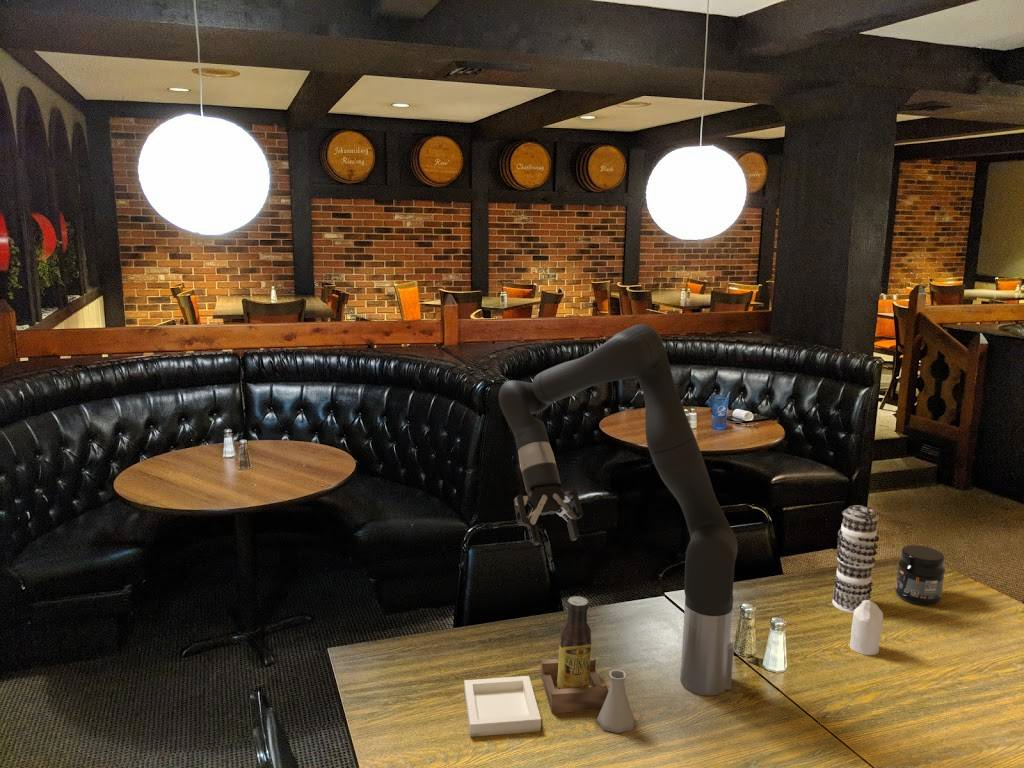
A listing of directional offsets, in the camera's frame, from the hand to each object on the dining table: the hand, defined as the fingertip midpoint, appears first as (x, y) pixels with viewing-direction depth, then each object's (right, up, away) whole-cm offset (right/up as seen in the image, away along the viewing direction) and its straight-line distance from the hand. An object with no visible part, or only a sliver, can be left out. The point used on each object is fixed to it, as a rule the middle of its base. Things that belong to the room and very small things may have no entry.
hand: (556, 541), depth 162 cm
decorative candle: (+74, -22, +32) cm, 83 cm away
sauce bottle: (+3, -29, -4) cm, 30 cm away
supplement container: (+92, -21, +37) cm, 102 cm away
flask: (+10, -31, -13) cm, 36 cm away
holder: (+3, -29, -4) cm, 30 cm away
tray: (-11, -30, -10) cm, 34 cm away
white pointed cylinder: (+68, -26, +13) cm, 74 cm away
